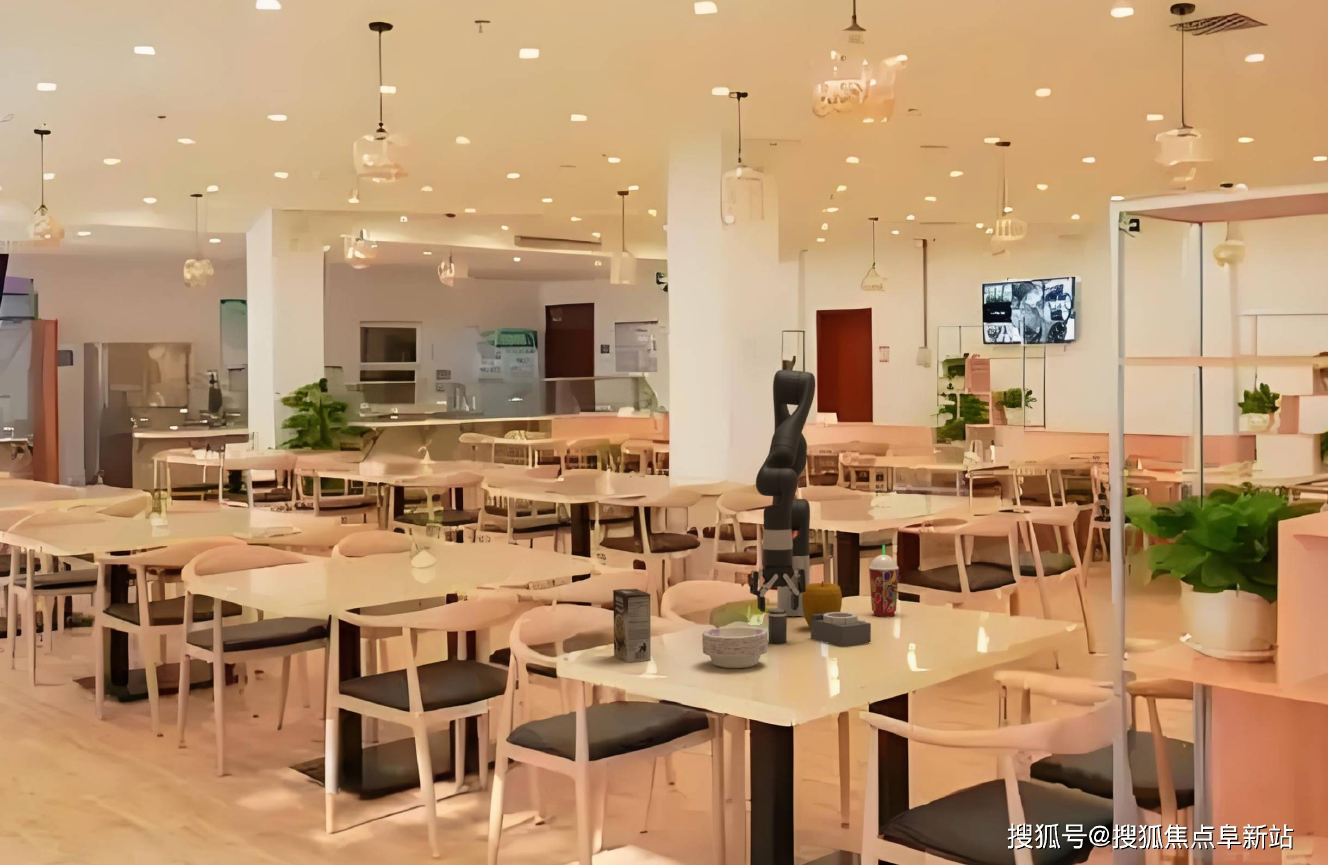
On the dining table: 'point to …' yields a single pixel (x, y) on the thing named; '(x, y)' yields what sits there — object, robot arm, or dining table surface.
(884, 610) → the smoothie
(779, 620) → the lens
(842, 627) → the camera body
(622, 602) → the coffee box
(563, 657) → the dining table surface
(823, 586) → the apple
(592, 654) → the dining table surface
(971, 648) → the dining table surface
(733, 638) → the paper bowls
